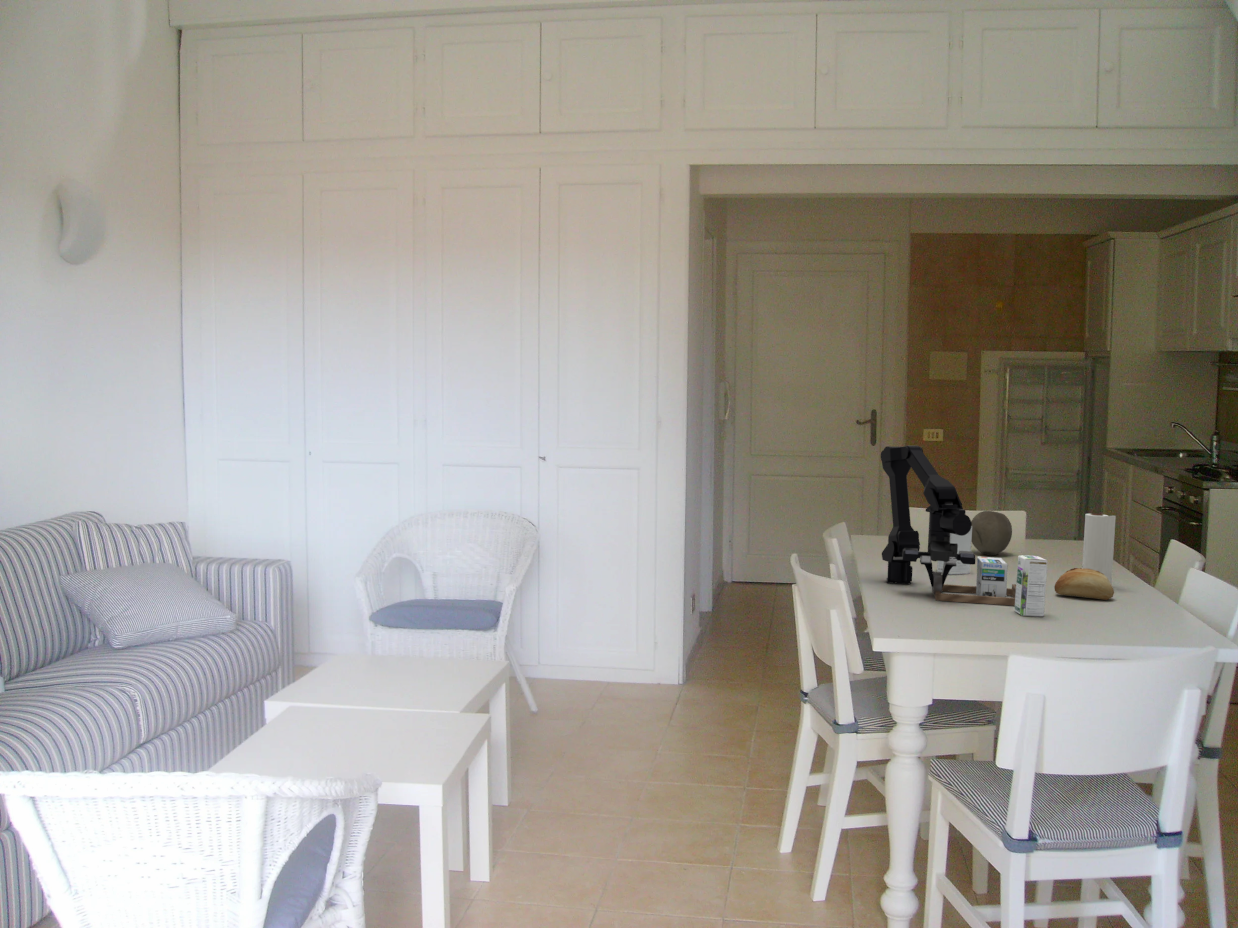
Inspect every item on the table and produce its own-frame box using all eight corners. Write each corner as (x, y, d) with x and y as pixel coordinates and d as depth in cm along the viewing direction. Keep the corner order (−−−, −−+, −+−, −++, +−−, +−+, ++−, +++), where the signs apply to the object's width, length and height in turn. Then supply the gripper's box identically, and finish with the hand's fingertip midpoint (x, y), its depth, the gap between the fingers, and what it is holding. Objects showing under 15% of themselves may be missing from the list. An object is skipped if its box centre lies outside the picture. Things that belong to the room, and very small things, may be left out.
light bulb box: (1006, 604, 281) (1008, 563, 280) (979, 602, 282) (981, 562, 281) (1000, 596, 291) (1002, 557, 290) (974, 594, 293) (976, 555, 292)
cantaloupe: (1017, 558, 358) (1019, 514, 357) (975, 557, 358) (977, 513, 357) (1003, 551, 372) (1005, 509, 371) (962, 550, 372) (964, 508, 371)
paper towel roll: (1078, 587, 307) (1082, 513, 305) (1085, 584, 311) (1089, 512, 310) (1104, 591, 302) (1108, 516, 301) (1111, 588, 307) (1115, 514, 305)
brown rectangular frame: (934, 600, 283) (935, 578, 282) (931, 589, 297) (932, 569, 297) (1023, 606, 278) (1025, 584, 277) (1016, 595, 292) (1017, 574, 292)
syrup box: (1013, 611, 271) (1016, 554, 270) (1037, 611, 271) (1040, 555, 270) (1021, 616, 266) (1024, 558, 265) (1045, 616, 266) (1048, 559, 264)
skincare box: (949, 575, 323) (951, 526, 321) (935, 571, 328) (938, 523, 327) (971, 573, 326) (973, 525, 325) (957, 570, 331) (960, 522, 330)
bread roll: (1052, 592, 299) (1053, 564, 299) (1110, 596, 295) (1112, 568, 294) (1055, 598, 290) (1057, 569, 290) (1115, 603, 286) (1117, 573, 285)
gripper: (904, 532, 283) (902, 590, 284) (978, 536, 279) (975, 595, 280) (903, 527, 294) (901, 583, 295) (974, 530, 289) (971, 587, 291)
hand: (936, 587), depth 290 cm, fingers closed on brown rectangular frame, 2 cm apart
